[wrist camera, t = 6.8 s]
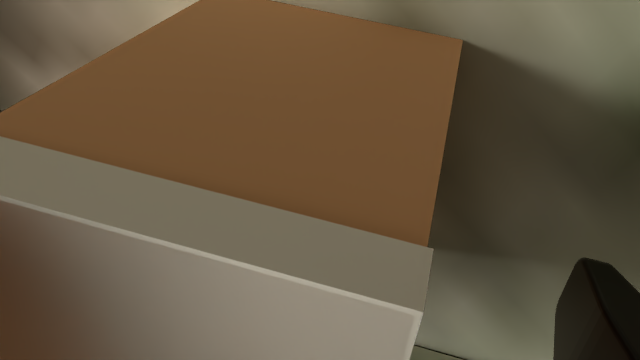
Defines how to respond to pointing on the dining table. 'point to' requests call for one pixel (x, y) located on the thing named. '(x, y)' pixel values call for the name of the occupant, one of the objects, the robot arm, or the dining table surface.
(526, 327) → the dining table surface
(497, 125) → the dining table surface
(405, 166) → the square block
